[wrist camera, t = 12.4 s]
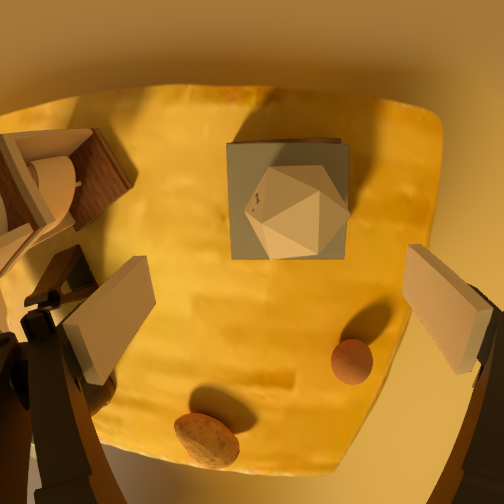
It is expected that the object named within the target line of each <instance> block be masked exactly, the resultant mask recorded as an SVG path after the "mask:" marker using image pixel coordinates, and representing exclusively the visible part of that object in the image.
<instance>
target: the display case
mask: <svg viewBox="0 0 504 504" xmlns="http://www.w3.org/2000/svg"><path fill="white" fill-rule="evenodd" d="M132 188H133V186H132V185H131V183H130V182H129V180H128V178H127V177H126V175H125V173H124V172H123V170H122V169H121V167H120V165H119V164H118V162H117V160H116V159H115V157H114V155H113V154H112V152H111V150H110V149H109V147H108V145H107V143H106V142H105V140H104V138H103V137H102V135H101V133H100V131H99V130H98V128H96V129H60V130H42V131H28V132H17V133H7V134H0V278H1V277H2V276H4V275H6V274H7V273H8V272H9V271H10V270H11V269H12V267H13V266H14V265H15V264H16V263H17V262H18V261H19V259H20V258H21V257H22V256H23V255H24V254H25V253H26V251H27V250H28V249H30V248H32V247H34V246H36V245H37V244H39V243H41V242H43V241H45V240H46V239H48V238H50V237H52V236H54V235H56V234H57V233H59V232H61V231H63V230H65V229H67V228H69V227H71V226H73V227H74V229H75V230H76V232H77V231H79V230H81V229H83V228H84V227H85V226H86V225H87V224H89V223H90V222H91V221H92V220H93V219H95V218H96V217H97V216H98V215H99V214H101V213H102V212H103V211H104V210H105V209H107V208H108V207H109V206H110V205H112V204H113V203H114V202H115V201H117V200H118V199H119V198H120V197H122V196H123V195H124V194H126V193H127V192H128V191H129V190H131V189H132Z"/></svg>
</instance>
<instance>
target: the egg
mask: <svg viewBox="0 0 504 504" xmlns="http://www.w3.org/2000/svg"><path fill="white" fill-rule="evenodd" d="M331 366H332V369H333V372H334V374H335V375H336V376H337V377H338V378H339V379H340V380H341V381H342V382H344V383H346V384H349V385H356V384H360V383H362V382H363V381H364V380H366V379H367V377H368V376H369V374H370V372H371V370H372V366H373V357H372V353H371V351H370V349H369V347H368V346H367V345H366V344H365V343H364V342H362V341H360V340H357V339H347V340H344V341H343V342H341V343H339V344H338V345H337V346H336V348H335V349H334V351H333V353H332V356H331Z"/></svg>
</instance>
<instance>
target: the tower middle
mask: <svg viewBox="0 0 504 504" xmlns="http://www.w3.org/2000/svg"><path fill="white" fill-rule="evenodd" d="M226 150H227V175H228V198H229V219H230V239H231V257H232V260H270V259H269V257H268V255H267V253H266V251H265V249H264V247H263V246H262V244H261V242H260V240H259V238H258V236H257V234H256V233H255V231H254V229H253V227H252V225H251V223H250V221H249V220H248V218H247V216H246V214H245V212H244V209H245V207H246V206H247V204H248V202H249V200H250V198H251V197H252V195H253V193H254V191H255V190H256V188H257V186H258V184H259V182H260V181H261V179H262V177H263V175H264V174H265V172H266V170H267V168H268V167H274V166H306V165H322V166H323V167H324V169H325V171H326V172H327V174H328V176H329V177H330V179H331V181H332V182H333V184H334V186H335V187H336V189H337V191H338V192H339V194H340V196H341V198H342V199H343V201H344V203H345V205H346V206H347V208H348V180H349V145H346V144H327V143H244V144H226ZM346 227H347V221H346V222H345V223H344V224H343V226H342V227H341V228H340V229H339V231H338V232H337V233H336V234H335V235H334V237H333V238H332V239H331V240H330V241H329V243H328V244H327V245H326V246H325V247H324V249H323V250H322V251H321V252H320V253H319V254H318V255H309V256H300V257H291V258H282V259H273V260H336V259H344V256H345V243H346Z"/></svg>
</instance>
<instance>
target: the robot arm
mask: <svg viewBox="0 0 504 504" xmlns="http://www.w3.org/2000/svg"><path fill="white" fill-rule="evenodd" d="M402 295H403V297H404V298H405V299H406V301H407V302H408V304H409V305H410V306H411V308H412V309H413V311H414V312H415V313H416V315H417V316H418V318H419V319H420V321H421V322H422V323H423V325H424V326H425V328H426V329H427V331H428V332H429V334H430V335H431V337H432V338H433V340H434V341H435V343H436V344H437V346H438V347H439V349H440V350H441V352H442V353H443V355H444V356H445V358H446V360H447V361H448V363H449V364H450V366H451V368H452V369H453V371H454V372H455V374H456V375H459V374H464V373H468V372H471V371H472V369H473V367H474V365H475V362H476V359H478V360H479V362H480V363H481V367H480V369H479V372H478V374H477V377H476V379H475V381H474V383H473V386H472V387H473V388H474V390H473V393H472V396H471V400H470V403H469V406H468V409H467V412H466V415H465V418H464V421H463V424H462V426H461V429H460V432H459V434H458V437H457V439H456V442H455V444H454V447H453V449H452V452H451V454H450V457H449V459H448V461H447V463H446V465H445V467H444V470H443V472H442V474H441V476H440V478H439V480H438V482H437V484H436V486H435V488H434V490H433V492H432V494H431V496H430V498H429V499H428V501H427V503H426V504H504V311H503V312H502V311H501V310H500V309H499V308H498V307H496V305H495V304H493V303H492V302H491V301H490V300H488V298H487V297H486V296H485V295H483V293H481V292H480V291H479V290H478V289H477V288H476V287H474V286H472V285H470V284H468V283H466V282H465V281H464V280H462V279H461V278H460V277H459V276H458V275H457V274H456V273H454V272H453V271H452V270H451V269H450V268H449V267H448V266H446V265H445V264H444V263H443V262H442V261H441V260H439V259H438V258H437V257H436V256H435V255H433V254H432V253H431V252H430V251H428V250H427V249H426V248H425V247H424V246H422V245H421V244H411V245H408V246H407V256H406V265H405V274H404V281H403V289H402ZM155 304H156V301H155V296H154V291H153V287H152V282H151V277H150V272H149V267H148V262H147V257H146V256H133V257H132V258H131V259H130V260H128V261H127V262H126V263H125V264H124V265H123V266H122V267H121V268H120V269H119V270H117V271H116V272H115V273H114V274H113V275H112V276H111V277H110V278H109V279H108V280H107V281H106V282H105V283H103V284H102V285H101V286H100V287H99V288H98V289H97V290H96V291H95V292H94V293H93V294H92V295H91V296H90V297H89V298H88V299H87V300H85V301H83V302H82V303H80V304H79V305H78V306H77V307H76V308H75V309H74V310H73V311H72V312H71V313H70V314H68V316H66V317H65V318H64V319H63V320H62V321H61V322H60V323H59V324H58V325H57V326H56V327H55V324H54V321H53V319H52V316H51V313H50V311H49V310H48V309H37V310H34V311H31V312H29V313H28V314H26V315H25V316H24V317H23V318H22V319H21V321H20V323H21V325H22V328H23V330H24V332H25V335H26V337H27V339H28V342H21V343H19V342H18V340H17V338H16V336H15V334H14V333H12V332H6V333H2V332H1V331H0V504H27V485H28V470H29V459H30V456H31V457H33V458H35V459H36V460H37V462H38V468H39V473H40V477H41V482H42V488H40V489H36V490H35V492H34V499H35V504H127V502H126V501H125V498H124V496H123V494H122V492H121V490H120V488H119V486H118V484H117V482H116V479H115V478H114V475H113V473H112V471H111V468H110V466H109V464H108V461H107V459H106V456H105V454H104V451H103V449H102V446H101V444H100V441H99V439H98V436H97V433H96V430H95V428H94V425H93V422H92V419H91V417H92V416H93V415H94V414H96V413H97V412H98V411H99V410H100V409H101V408H103V407H105V406H106V405H108V404H109V402H110V401H111V399H112V397H113V395H114V391H115V390H114V384H113V382H112V379H111V378H110V376H109V375H110V373H111V372H112V370H113V369H114V367H115V365H116V364H117V362H118V361H119V359H120V358H121V356H122V354H123V353H124V351H125V350H126V348H127V347H128V345H129V344H130V342H131V341H132V339H133V338H134V336H135V334H136V333H137V331H138V330H139V328H140V327H141V325H142V324H143V322H144V321H145V319H146V318H147V316H148V315H149V313H150V312H151V310H152V309H153V307H154V306H155Z"/></svg>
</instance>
